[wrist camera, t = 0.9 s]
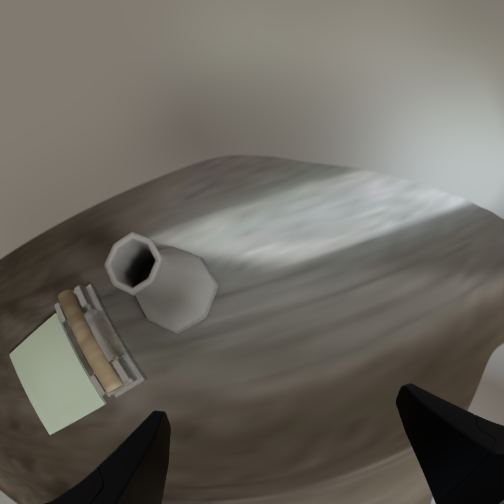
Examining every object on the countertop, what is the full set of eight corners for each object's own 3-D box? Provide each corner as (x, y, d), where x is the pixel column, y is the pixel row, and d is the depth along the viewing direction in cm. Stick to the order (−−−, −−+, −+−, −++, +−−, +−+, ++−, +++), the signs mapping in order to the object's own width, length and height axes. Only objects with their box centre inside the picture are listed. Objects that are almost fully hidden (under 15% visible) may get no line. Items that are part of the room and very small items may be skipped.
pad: (106, 403, 19) (104, 404, 19) (51, 434, 17) (49, 435, 17) (58, 312, 21) (56, 312, 21) (11, 354, 19) (9, 354, 19)
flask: (122, 293, 22) (57, 269, 13) (173, 234, 24) (135, 176, 14) (180, 349, 21) (136, 362, 12) (234, 284, 23) (228, 252, 13)
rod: (125, 383, 18) (117, 386, 17) (112, 391, 18) (104, 395, 16) (76, 291, 20) (66, 288, 18) (64, 300, 20) (54, 298, 18)
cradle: (146, 378, 20) (134, 384, 17) (118, 396, 20) (104, 403, 17) (93, 284, 22) (76, 278, 19) (68, 304, 22) (51, 300, 19)
